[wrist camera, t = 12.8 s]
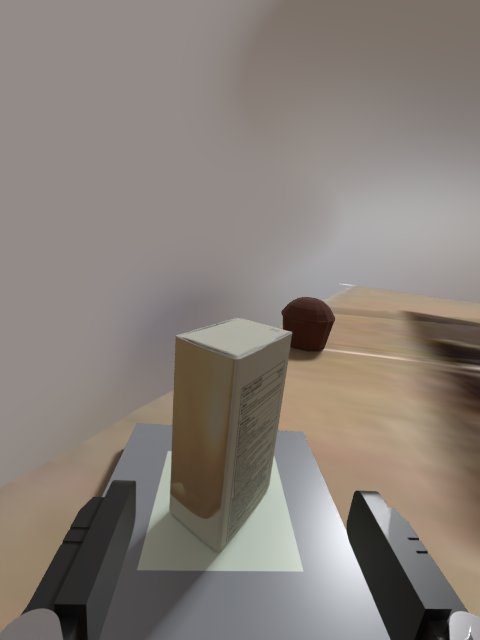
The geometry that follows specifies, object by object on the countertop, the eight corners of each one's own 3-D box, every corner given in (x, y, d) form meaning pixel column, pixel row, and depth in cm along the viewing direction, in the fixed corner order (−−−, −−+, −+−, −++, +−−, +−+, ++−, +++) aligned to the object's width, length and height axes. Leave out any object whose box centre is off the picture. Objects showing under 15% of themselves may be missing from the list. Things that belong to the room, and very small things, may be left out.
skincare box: (224, 460, 23) (240, 315, 20) (271, 488, 21) (296, 330, 18) (162, 515, 18) (171, 331, 15) (216, 561, 16) (238, 355, 13)
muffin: (327, 358, 55) (337, 307, 53) (272, 346, 59) (278, 298, 56) (330, 341, 66) (338, 299, 64) (283, 332, 70) (289, 291, 67)
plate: (299, 449, 29) (303, 431, 28) (391, 687, 13) (402, 658, 13) (136, 441, 27) (136, 423, 27) (25, 698, 12) (21, 666, 11)
